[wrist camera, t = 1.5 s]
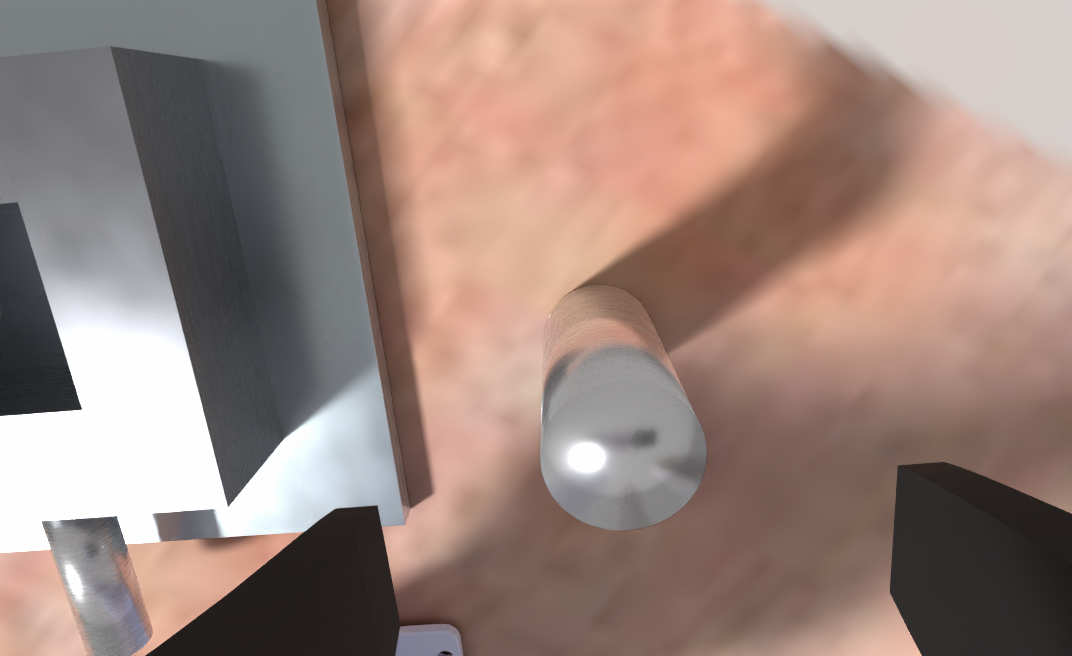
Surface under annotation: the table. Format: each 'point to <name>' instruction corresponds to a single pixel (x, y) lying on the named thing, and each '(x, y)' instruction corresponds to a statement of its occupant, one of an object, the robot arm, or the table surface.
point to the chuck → (179, 290)
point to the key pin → (615, 415)
